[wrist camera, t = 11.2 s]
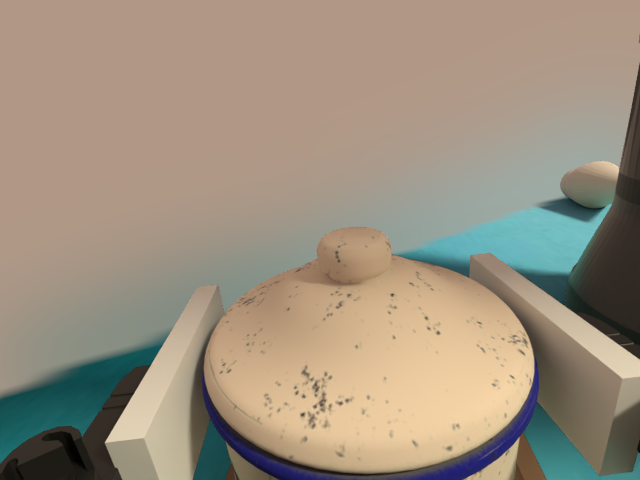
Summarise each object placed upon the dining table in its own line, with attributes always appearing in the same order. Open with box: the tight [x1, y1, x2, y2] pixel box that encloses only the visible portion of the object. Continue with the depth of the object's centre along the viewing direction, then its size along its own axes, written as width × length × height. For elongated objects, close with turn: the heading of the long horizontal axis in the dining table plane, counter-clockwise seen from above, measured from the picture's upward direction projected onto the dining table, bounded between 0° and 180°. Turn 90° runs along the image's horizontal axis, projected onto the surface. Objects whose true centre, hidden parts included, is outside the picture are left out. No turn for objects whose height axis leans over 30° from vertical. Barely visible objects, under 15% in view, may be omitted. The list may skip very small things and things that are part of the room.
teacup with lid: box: [202, 227, 539, 480], centre depth 10 cm, size 12×9×12 cm
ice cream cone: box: [560, 161, 619, 208], centre depth 45 cm, size 6×6×15 cm
